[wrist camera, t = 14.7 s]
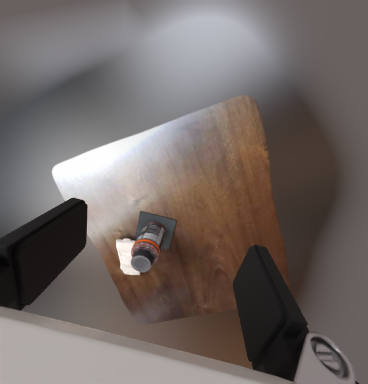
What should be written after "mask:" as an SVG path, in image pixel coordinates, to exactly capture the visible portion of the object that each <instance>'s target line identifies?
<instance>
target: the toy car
mask: <svg viewBox="0 0 368 384" xmlns="http://www.w3.org/2000/svg"><path fill="white" fill-rule="evenodd" d="M134 243H135V241H134V240H132V241H131V239H128V238H127V239H126V238H125V239H123V240H120V239H118V240H116V248H117V250H118V254H119V259H120V263H121V266H120V268H121V270H123V272H124V274H130V275H140V272H139V271H136V270H135V269H133V267H132V266H131V259H132V256H131V249H132V247H133V245H134Z"/></svg>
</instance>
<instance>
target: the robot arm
mask: <svg viewBox="0 0 368 384" xmlns="http://www.w3.org/2000/svg"><path fill="white" fill-rule="evenodd" d="M86 235H87V204H85V201H84V200H80V199H77V198H71V199H69V200H67V201H65V202H64V203H62V204H60V205H58V206H57V207H55V208H53V209H51V210H49V211H48V212H46V213H44V214H42V215H41V216H39V217H37V218H36V219H34V220H32V221H30V222H28V223H26V224H25V225H23V226H21V227H20V228H18V229H16V230H14V231H12V232H11V233H9V234H7V235H5V236H4V237H2V238H0V384H359V383H358V382H357V381H356V380H355V374H354V370H353V368H352V365H351V363H350V361H349V360H348V359H347V357H346V356H345V354H344V353H343V352H342V351H341V350H340V349H339V348H338V346H337V345H336V344H334V343H333V342H332V341H331V340H330V339H328V338H327V337H325V336H323V335H322V334H320V333H317V332H309V330H308V328H307V326H306V325H308V324H307V322H306V320H305V318H304V316H303V315H302V313H301V311H300V309H299V307H298V305H297V303H296V301H295V300H294V298H293V296H292V294H291V292H290V290H289V289H288V287H287V285H286V283H285V281H284V279H283V277H282V276H281V274H280V272H279V270H278V268H277V266H276V265H275V263H274V261H273V259H272V257H271V255H270V254H269V252H268V250H267V248H266V247H263V246H259V245H253V246H250V248H249V250H248V252H247V254H246V256H245V258H244V260H243V262H242V264H241V266H240V268H239V270H238V272H237V275H236V277H235V279H234V281H233V289H234V294H235V299H236V303H237V308H238V313H239V318H240V323H241V327H242V332H243V337H244V342H245V347H246V352H247V357H248V359H249V361H250V362H252V366H253V370H252V369H248V368H245V367H241V366H238V365H234V364H230V363H226V362H222V361H219V360H215V359H211V358H207V357H203V356H199V355H196V354H192V353H187V352H184V351H180V350H176V349H172V348H168V347H164V346H160V345H156V344H152V343H148V342H145V341H141V340H137V339H132V338H129V337H125V336H121V335H116V334H113V333H109V332H105V331H101V330H97V329H93V328H89V327H85V326H81V325H76V324H72V323H69V322H64V321H60V320H56V319H52V318H48V317H44V316H40V315H36V314H32V313H28V312H24V311H21V310H22V309H23V308H24V307H25V306H26V305H30V304H31V303H32V302H33V301H34V300H35V299H36V298H37V297H38V296H39V295H40V294H41V293H42V292H43V291H44V290H45V289H46V288H47V286H49V285H50V284H51V282H52V281H53V280H54V279H55V278H56V277H57V276H58V275H59V274H60V273H61V272H62V271H63V270H64V269H65V268H66V267H67V265H68V264H69V263H70V262H71V261H72V260H73V259H74V258H75V257H76V256H77V255H78V254H79V253H80V252H81V251H82V250H83V249H84V247H85V245H86Z"/></svg>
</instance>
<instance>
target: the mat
mask: <svg viewBox="0 0 368 384" xmlns="http://www.w3.org/2000/svg"><path fill="white" fill-rule="evenodd" d="M149 222H158V223H160V224H162V225H163V226H164V228H165V230H166V236H165V240H164V243H163V246H162V248H164V249H168V250H169V247H170V243H171V239H172V236H173V232H174V228H175V224H176V220H174V219H170V218H166V217H162V216H158V215H154V214H150V213H146V212H143V211H140V215H139V221H138V228H137V234H136V239H137V238H138V236H139V234H140V232H141V230H142V229H143V227H144V226H145V225H146V224H147V223H149ZM135 241H136V240H135Z"/></svg>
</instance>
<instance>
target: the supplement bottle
mask: <svg viewBox="0 0 368 384" xmlns="http://www.w3.org/2000/svg"><path fill="white" fill-rule="evenodd" d="M165 236H166V230H165V228H164V226H163V225H162V224H160V223H158V222H149V223H147V224H146V225H145V226H144V227H143V229H142V230H141V232H140V234H139V236H138V238H137V239H136V241H135V243H134V245H133V247H132V249H131V256H132V259H131V266H132V267H133V269H135V270H136V271H139V272H146V271H148V270H149V269H150V268H151V265H153V264H155V263H156V262H157V261H158V259H159V256H160V253H161V250H162V246H163V243H164V240H165Z"/></svg>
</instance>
